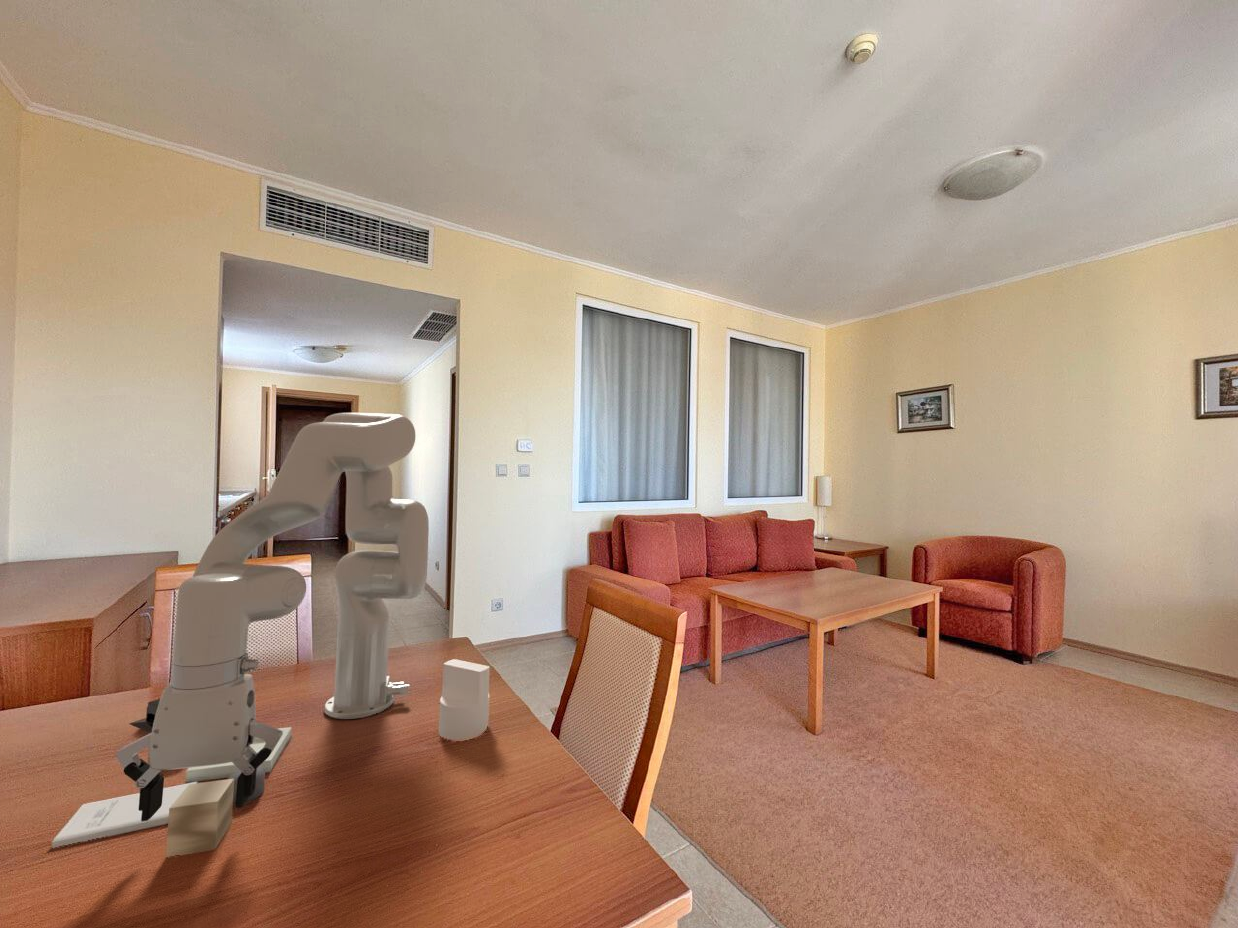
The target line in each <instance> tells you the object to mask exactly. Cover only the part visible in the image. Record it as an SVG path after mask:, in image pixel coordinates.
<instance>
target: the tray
mask: <svg viewBox="0 0 1238 928" xmlns="http://www.w3.org/2000/svg"><path fill="white" fill-rule="evenodd" d="M292 728H293V727H292V726H290V727H279V728H277V729H278V730H281V731H282V732H283V735H282V737H281V738H280V740H279V741H278V743H277V745H276V746H275V748H274V749H273V751H272V753H271V754H270V756H269V757H268V758H267V759H266V760H265V761H264V762H263V763H262V764H261V765H260V766H261V767H264V768H265V773H271V771H272V770H273V768H274V766H275V765H276V763H277V762H278V760H279V758H280V756H281V755H282V753H283V751H284V750H285V748H286V746H287V745H288V743H289V742H290V740H291V738H292V731H293V729H292ZM265 744H266V742H265V741H264V740H262V739H259V738H257V737H255V739H254V742H253V743H252V744H251V745H250V746H251V747H252V748H253V749H254V750H255V751H256V752H257V753H258V752H259V751H260V750H261V749H262V748H263V747H264V746H265ZM238 770H239V769H238V768H237V767H236V766H235V765H234V764H233V763H232V762H230V763H224V764H216V765H208V766H199V767H191V768H186V771H185V784H187V783H192V782H203V781H210V780H211V781H212V780H217V779H224V778H229V776H230V775H231V774H233V773H234V772H236V771H238Z"/></svg>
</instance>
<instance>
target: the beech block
mask: <svg viewBox="0 0 1238 928" xmlns="http://www.w3.org/2000/svg"><path fill="white" fill-rule="evenodd" d="M233 792H234V779H228V778H227V779H222V780H221V779H220V780H214V781H212V780H211V781H206V782H205V781H204V782H198V783H196V784H189V785H188V787H187V788H186V789H185V790H184V791H183V792H182V794H181V795H180V796H179V797H178V798H177V800H176V801H175V802H174V803H173V804H172V806H171V807H170V808H169V820H168V825H167V839H166V850H165V851H166V853H165V855H166V856H165V858H166V857H168V858H170V857H169V856H174V857H176V856H175V855H180V856H185V855H190V854H197V853H203V852H210V851H216V849H217V847H218V846H219V845H220V843H221V841H222V840H223V838H224V836H225V835H226V833H227V832H228V831H229V828H230V827H231V825H232V822H233V821H232V820H233V808H234V807H233V805H234V804H233Z"/></svg>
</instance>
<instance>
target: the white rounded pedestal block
mask: <svg viewBox="0 0 1238 928" xmlns="http://www.w3.org/2000/svg"><path fill="white" fill-rule="evenodd" d="M442 667H443V668H442V669H443V670H442V673H443V674H442V688H441V689H442V691H441V692H442V693H441V697H440V699H439V717H438V718H439V719H438V721H439V722H438V735H439V734H440V735H439V736H441V738H442V737H444V738H447V739H452V740H460V739H467V738H470V737H475V736H477V735H479V734H481V733H482V732H483V731H484V730H485V729H486V728H487V726H488V727H489V716H490V714H489V713H490V712H489V711H490V692H489V691H490V671H491V670H490V669H491V668H490V667H491V666H489V665H485V664H480V663H476V662H475V663H474V662H470V661H465V660H460V659H456V658H452V659H451V660H447V661H446V662H444V663H443V665H442Z"/></svg>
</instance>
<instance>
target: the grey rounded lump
mask: <svg viewBox="0 0 1238 928" xmlns="http://www.w3.org/2000/svg"><path fill="white" fill-rule="evenodd" d="M241 773H242V772H241V771H240V770H238V771H236V772H234V773H233V774H231V775H230V776H229V777H227V779H234V792H233V805H236V791H237V779H238V777H239V775H240V774H241ZM265 778H266V772H265V768H264V767H261V766H259V767H257V771H256V784H255V791H254V793H253V795H252V796H249V798H248V799H247V801H246V802H245V804H246V803H250V802H252V801H254V800H256V799H258V798H259V797H261V796H262V795H263V793H264V792H265V783H266V782H265V780H266V779H265Z"/></svg>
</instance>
